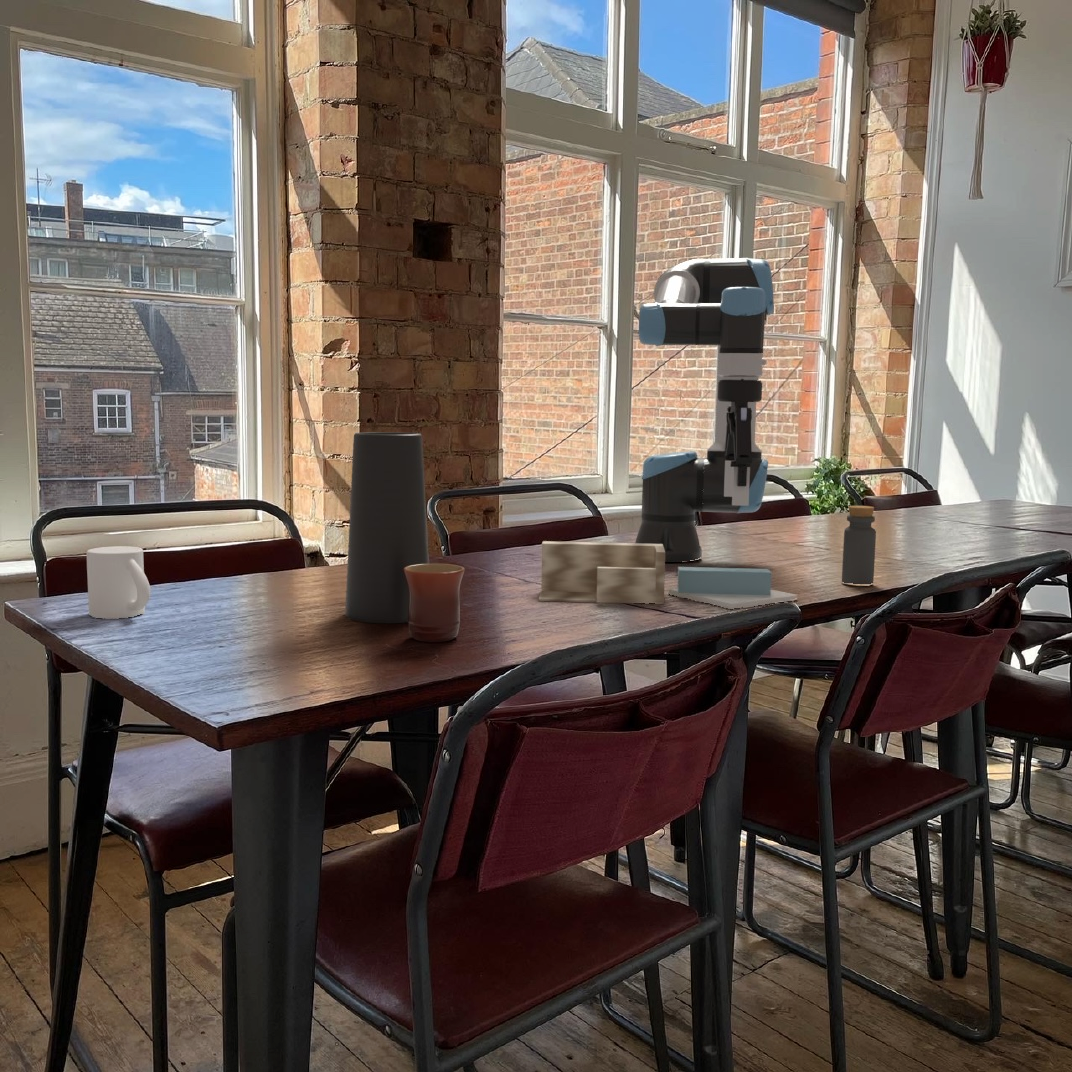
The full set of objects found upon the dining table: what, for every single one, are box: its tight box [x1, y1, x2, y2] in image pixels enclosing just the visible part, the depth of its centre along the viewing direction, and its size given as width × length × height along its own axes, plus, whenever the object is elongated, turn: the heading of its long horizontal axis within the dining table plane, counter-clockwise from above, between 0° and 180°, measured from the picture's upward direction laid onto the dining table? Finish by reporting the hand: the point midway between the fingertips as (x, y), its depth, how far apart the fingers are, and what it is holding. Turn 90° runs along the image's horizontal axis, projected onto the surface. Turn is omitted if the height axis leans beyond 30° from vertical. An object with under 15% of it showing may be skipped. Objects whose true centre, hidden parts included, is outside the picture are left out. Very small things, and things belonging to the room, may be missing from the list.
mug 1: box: [86, 545, 151, 620], centre depth 169 cm, size 8×10×12 cm
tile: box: [667, 587, 799, 610], centre depth 192 cm, size 16×16×1 cm
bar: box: [676, 566, 772, 595], centre depth 191 cm, size 16×4×4 cm, turn 86°
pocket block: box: [538, 540, 666, 605], centre depth 190 cm, size 22×10×9 cm, turn 86°
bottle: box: [841, 505, 877, 584], centre depth 206 cm, size 6×6×15 cm
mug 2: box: [404, 563, 465, 643], centre depth 158 cm, size 12×9×10 cm
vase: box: [345, 431, 430, 624], centre depth 171 cm, size 14×14×29 cm
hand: (735, 501), depth 190 cm, fingers open, 13 cm apart
